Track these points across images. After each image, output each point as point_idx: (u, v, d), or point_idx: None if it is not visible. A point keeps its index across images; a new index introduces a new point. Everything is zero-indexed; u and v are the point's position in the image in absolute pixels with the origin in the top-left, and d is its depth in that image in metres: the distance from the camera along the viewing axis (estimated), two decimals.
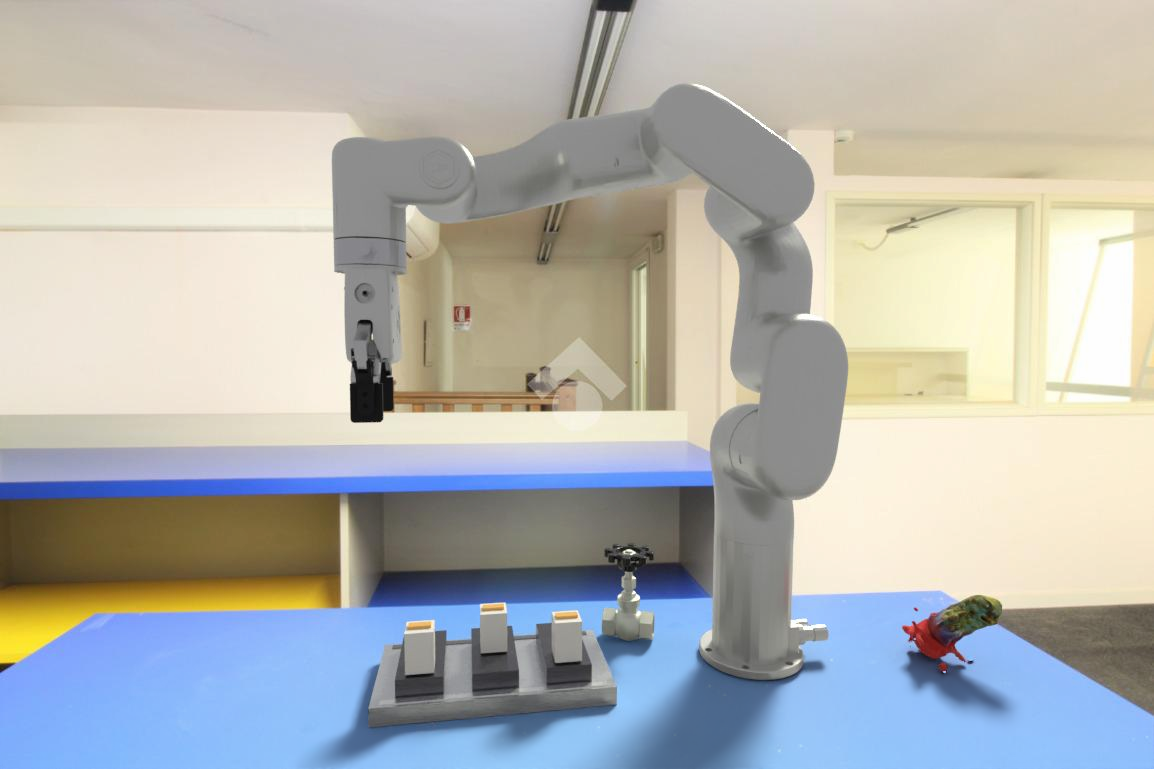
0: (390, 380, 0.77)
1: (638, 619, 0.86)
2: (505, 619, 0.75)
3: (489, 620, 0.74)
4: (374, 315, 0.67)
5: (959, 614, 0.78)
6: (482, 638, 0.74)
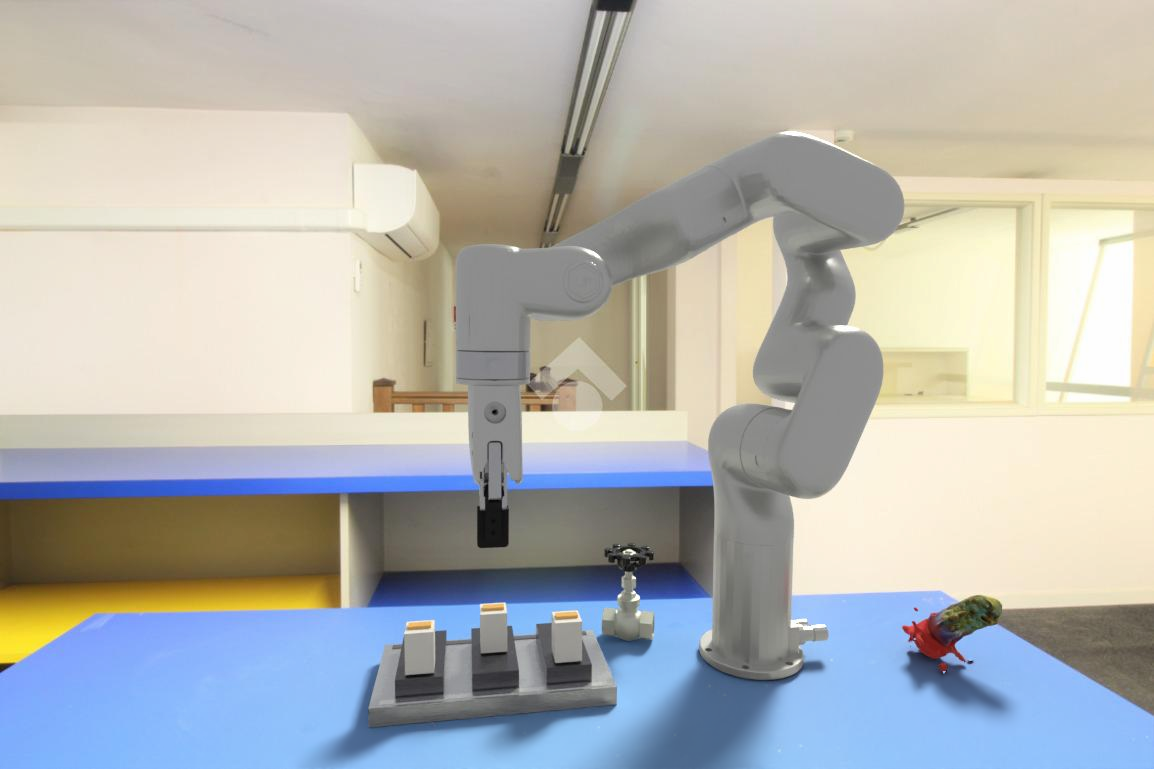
0: None
1: (638, 619, 0.86)
2: (505, 619, 0.75)
3: (489, 620, 0.74)
4: (505, 436, 0.63)
5: (959, 614, 0.78)
6: (482, 638, 0.74)
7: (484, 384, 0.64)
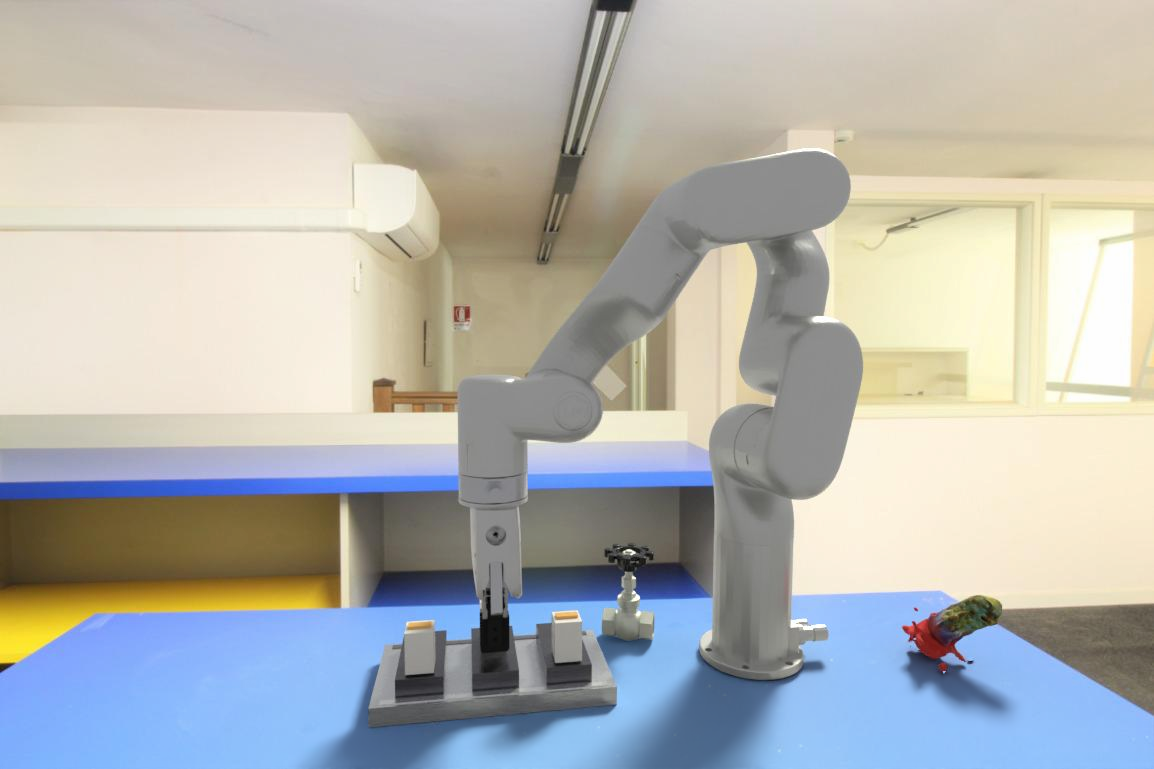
0: None
1: (638, 619, 0.86)
2: None
3: None
4: (505, 556, 0.68)
5: (959, 614, 0.78)
6: None
7: (485, 508, 0.69)
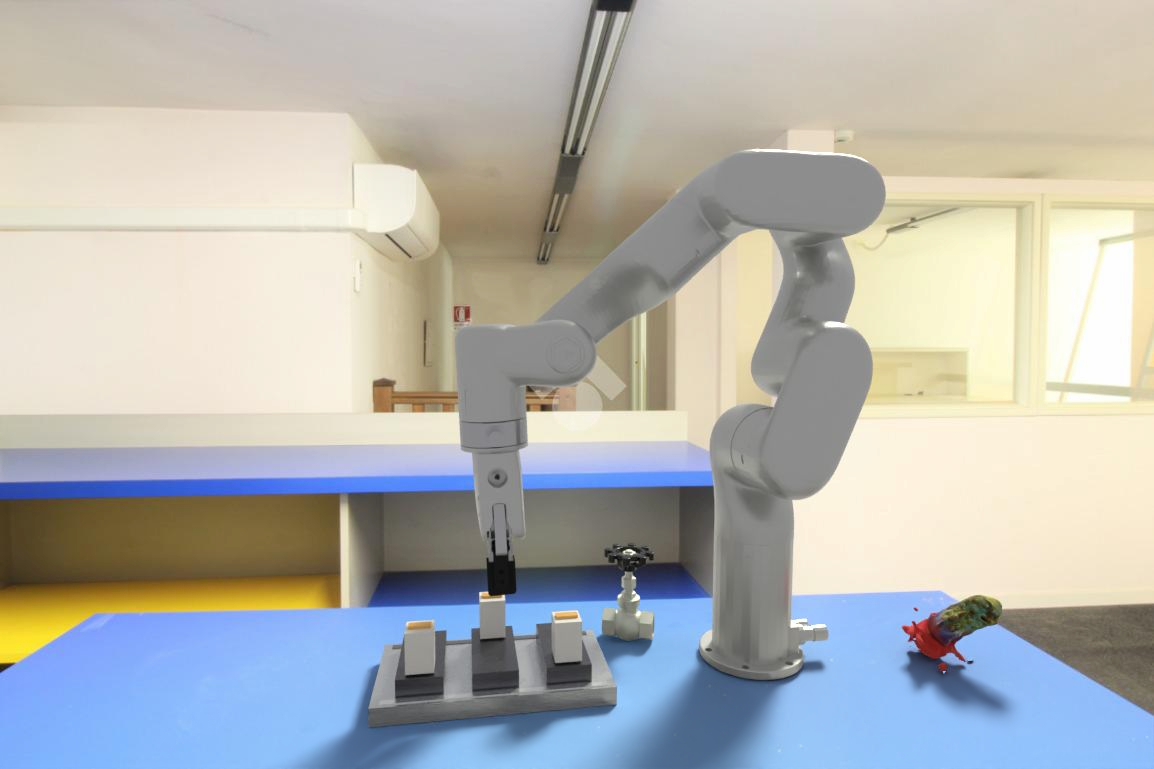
0: None
1: (638, 619, 0.86)
2: (503, 606, 0.78)
3: (488, 607, 0.78)
4: (507, 498, 0.70)
5: (959, 614, 0.78)
6: (481, 624, 0.78)
7: (486, 452, 0.71)
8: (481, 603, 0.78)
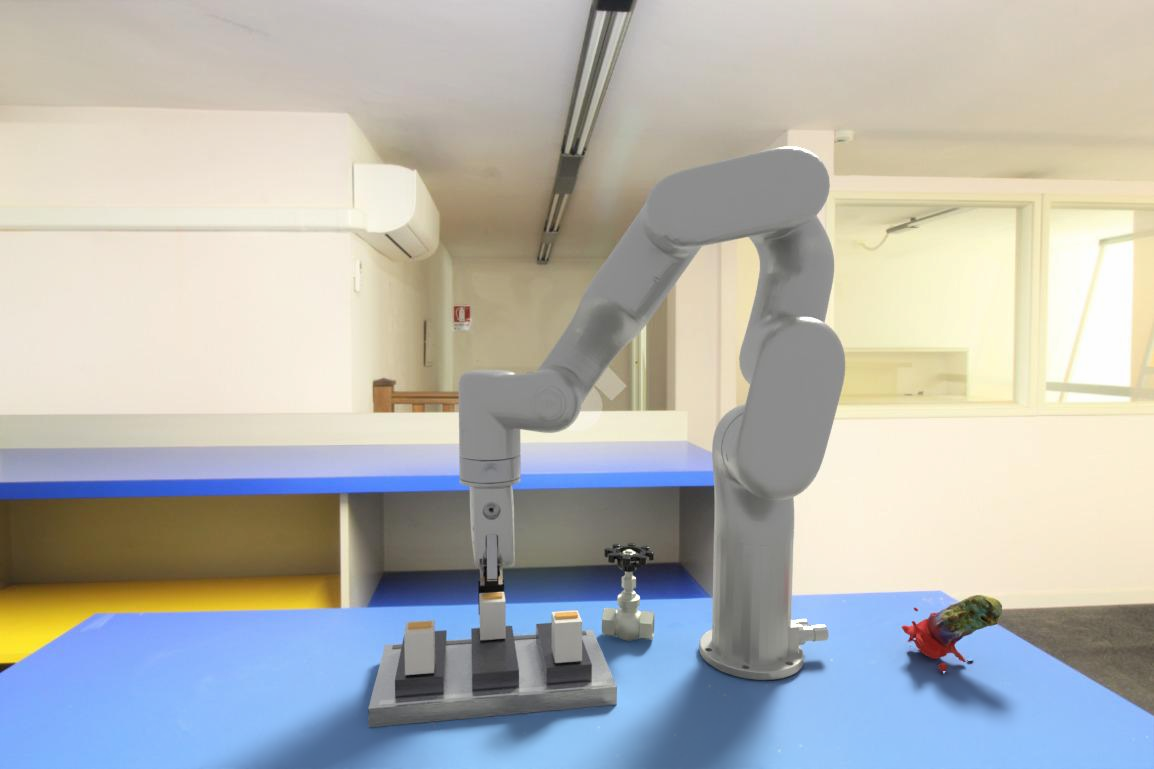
0: None
1: (638, 619, 0.86)
2: (503, 607, 0.78)
3: (488, 608, 0.78)
4: (499, 529, 0.78)
5: (959, 614, 0.78)
6: (481, 625, 0.78)
7: (482, 486, 0.78)
8: (481, 604, 0.77)
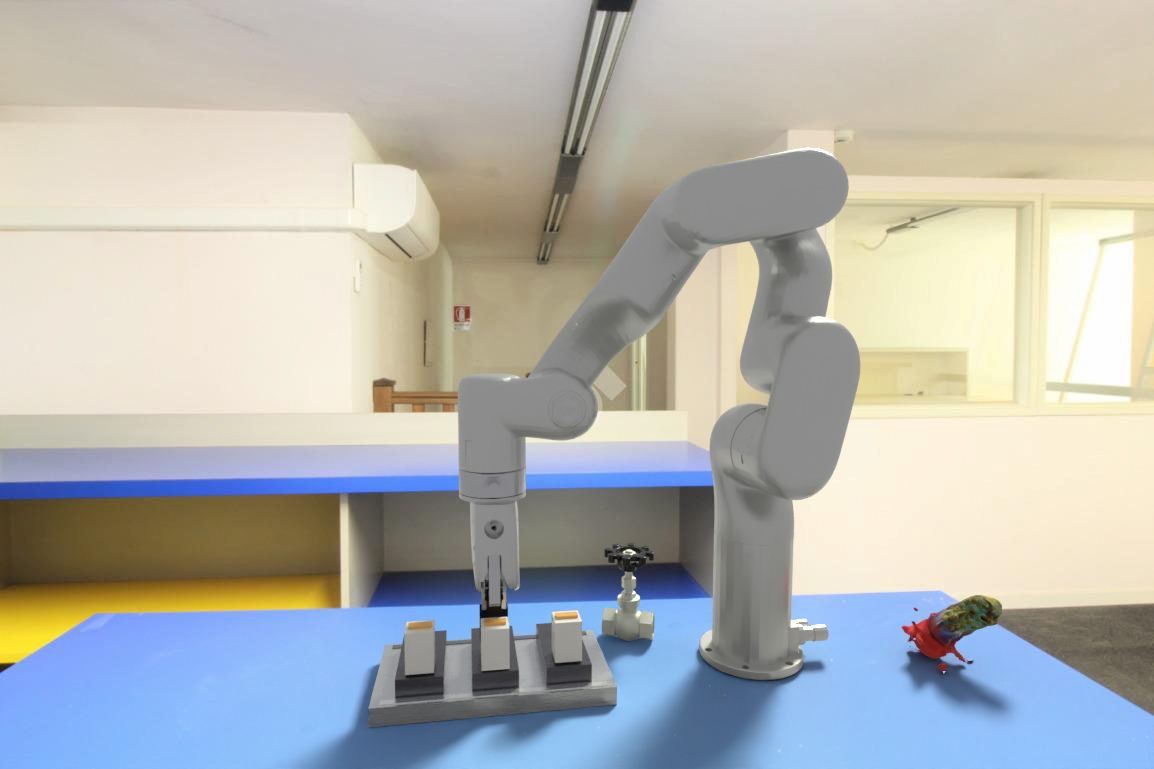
0: None
1: (638, 619, 0.86)
2: (507, 635, 0.71)
3: (490, 636, 0.71)
4: (503, 549, 0.70)
5: (959, 614, 0.78)
6: (483, 655, 0.71)
7: (484, 502, 0.71)
8: (483, 631, 0.70)
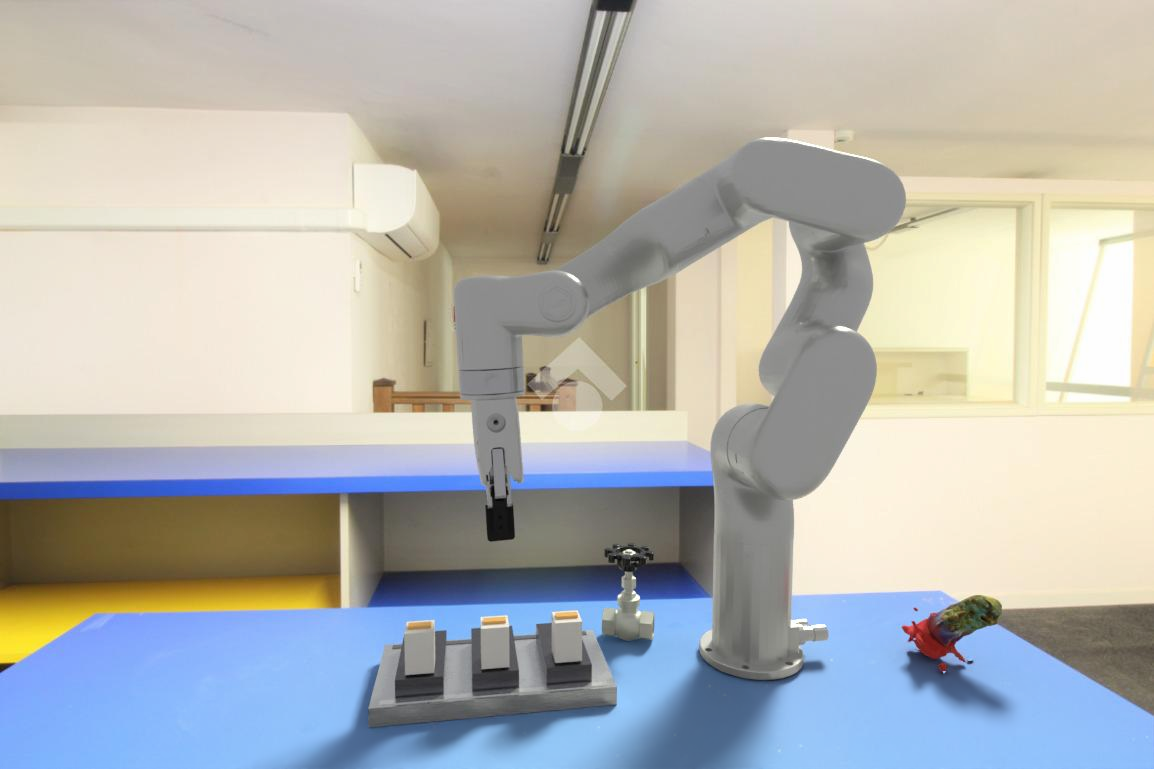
0: None
1: (638, 619, 0.86)
2: (507, 633, 0.71)
3: (490, 634, 0.71)
4: (506, 442, 0.72)
5: (959, 614, 0.78)
6: (483, 653, 0.71)
7: (485, 398, 0.73)
8: (483, 630, 0.71)
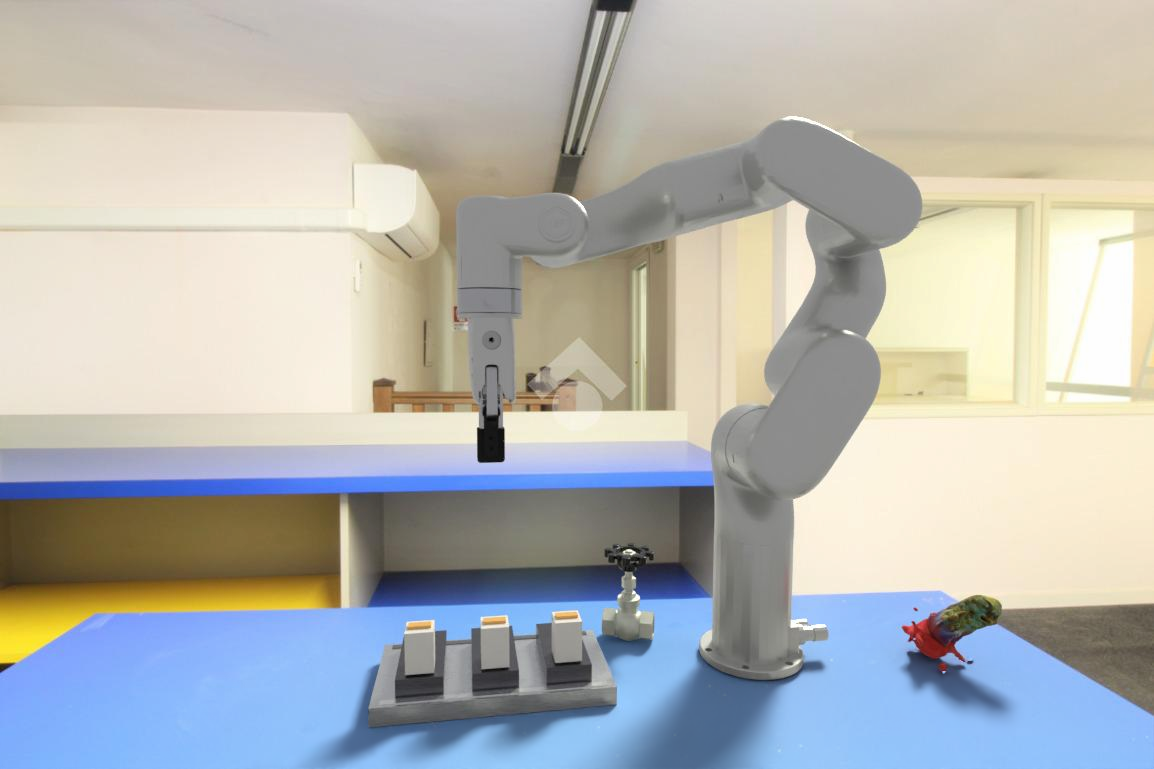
0: None
1: (638, 619, 0.86)
2: (507, 633, 0.71)
3: (490, 634, 0.71)
4: (500, 360, 0.73)
5: (959, 614, 0.78)
6: (483, 653, 0.71)
7: (482, 316, 0.74)
8: (483, 630, 0.71)
